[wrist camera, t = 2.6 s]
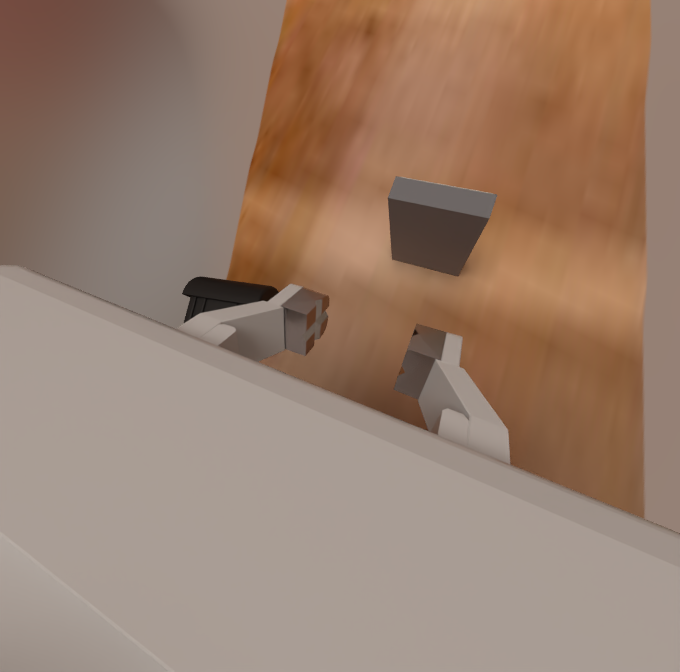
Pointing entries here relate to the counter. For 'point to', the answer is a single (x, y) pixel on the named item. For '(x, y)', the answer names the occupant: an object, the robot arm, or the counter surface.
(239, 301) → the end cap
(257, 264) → the counter surface
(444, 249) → the slate tile
